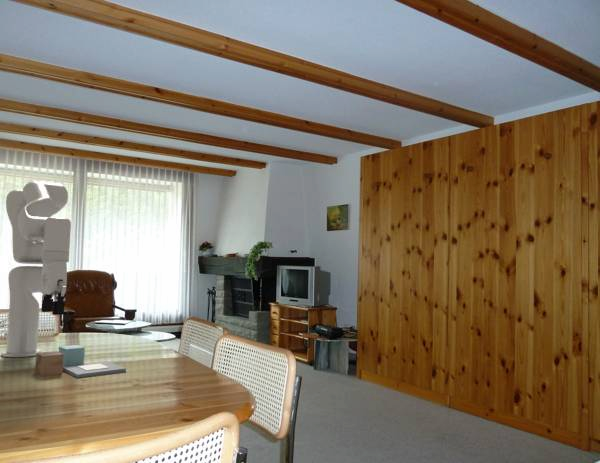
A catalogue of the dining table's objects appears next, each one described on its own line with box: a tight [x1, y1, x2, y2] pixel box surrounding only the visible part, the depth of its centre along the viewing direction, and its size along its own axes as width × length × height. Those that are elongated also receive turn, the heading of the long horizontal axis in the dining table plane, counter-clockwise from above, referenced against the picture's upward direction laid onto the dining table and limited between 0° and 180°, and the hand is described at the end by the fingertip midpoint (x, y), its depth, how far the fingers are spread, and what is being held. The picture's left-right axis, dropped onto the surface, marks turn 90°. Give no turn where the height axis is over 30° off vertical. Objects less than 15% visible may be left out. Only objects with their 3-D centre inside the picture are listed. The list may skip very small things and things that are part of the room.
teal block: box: [58, 344, 85, 366], centre depth 169 cm, size 6×6×6 cm
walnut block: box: [34, 350, 64, 377], centre depth 157 cm, size 6×6×6 cm
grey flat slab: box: [62, 360, 127, 379], centre depth 162 cm, size 14×15×1 cm
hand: (52, 313), depth 158 cm, fingers open, 9 cm apart
